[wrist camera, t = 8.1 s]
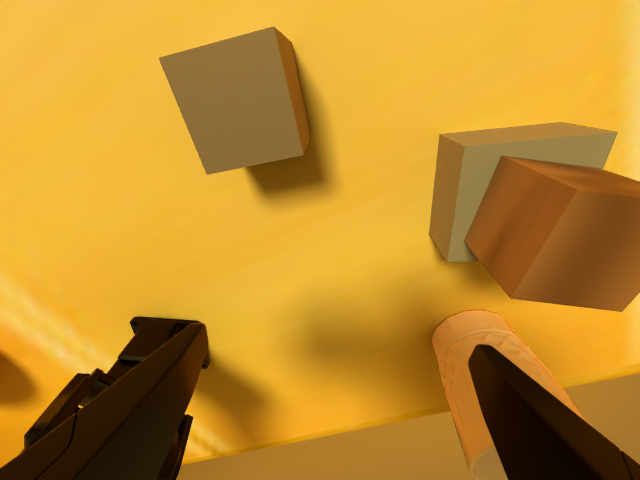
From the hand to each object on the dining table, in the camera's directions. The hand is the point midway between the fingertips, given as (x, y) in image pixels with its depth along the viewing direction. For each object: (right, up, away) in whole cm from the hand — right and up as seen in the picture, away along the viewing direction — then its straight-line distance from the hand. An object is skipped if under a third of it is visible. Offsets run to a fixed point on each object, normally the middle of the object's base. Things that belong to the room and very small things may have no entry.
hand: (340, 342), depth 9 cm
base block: (+11, +7, +9) cm, 16 cm away
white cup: (+13, -5, +16) cm, 22 cm away
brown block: (-4, +12, +7) cm, 14 cm away
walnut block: (+11, +5, +6) cm, 13 cm away
